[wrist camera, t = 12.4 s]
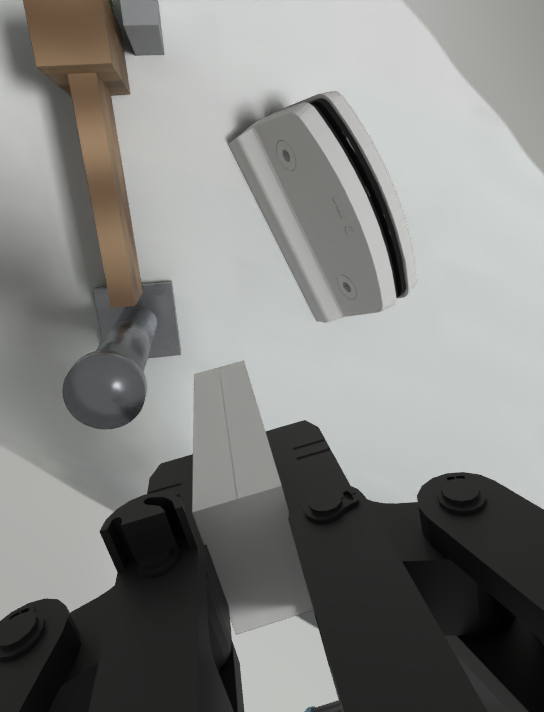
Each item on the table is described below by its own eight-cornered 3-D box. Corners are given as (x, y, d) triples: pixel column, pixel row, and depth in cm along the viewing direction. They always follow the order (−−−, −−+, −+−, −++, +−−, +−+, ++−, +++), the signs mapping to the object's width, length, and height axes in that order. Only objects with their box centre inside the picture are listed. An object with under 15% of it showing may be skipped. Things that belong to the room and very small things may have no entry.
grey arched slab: (225, 138, 36) (287, 88, 27) (273, 113, 38) (347, 58, 29) (318, 325, 42) (395, 334, 33) (357, 297, 43) (441, 299, 34)
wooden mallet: (159, 288, 38) (150, 309, 31) (108, 293, 38) (86, 316, 30) (120, 28, 33) (97, -24, 25) (60, 31, 32) (18, -22, 25)
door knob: (180, 351, 41) (171, 438, 25) (108, 358, 40) (54, 453, 25) (171, 281, 39) (156, 330, 24) (95, 287, 38) (29, 343, 23)
